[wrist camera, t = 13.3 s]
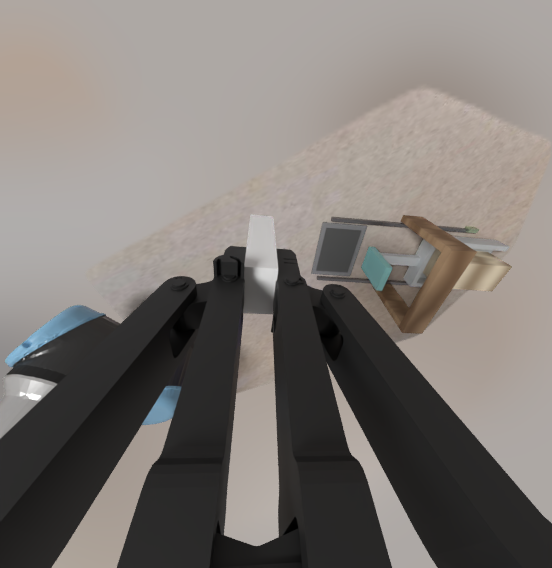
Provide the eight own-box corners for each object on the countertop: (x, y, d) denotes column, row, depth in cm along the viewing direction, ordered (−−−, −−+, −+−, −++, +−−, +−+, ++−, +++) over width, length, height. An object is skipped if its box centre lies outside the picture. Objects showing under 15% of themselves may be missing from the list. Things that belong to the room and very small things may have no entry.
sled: (354, 275, 53) (370, 302, 45) (371, 229, 46) (392, 252, 39) (466, 282, 55) (499, 309, 48) (496, 239, 49) (539, 263, 41)
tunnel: (372, 286, 56) (402, 332, 44) (403, 215, 45) (452, 250, 34) (388, 287, 56) (421, 333, 44) (422, 217, 46) (477, 252, 34)
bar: (422, 272, 52) (438, 288, 47) (435, 247, 49) (454, 262, 44) (471, 275, 53) (492, 291, 48) (487, 251, 50) (512, 266, 45)
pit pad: (311, 273, 52) (311, 274, 52) (322, 222, 46) (323, 222, 45) (349, 275, 53) (350, 276, 53) (366, 225, 46) (367, 226, 46)
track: (316, 279, 54) (317, 282, 53) (332, 214, 45) (333, 216, 44) (437, 286, 56) (440, 289, 55) (474, 227, 48) (479, 229, 47)
